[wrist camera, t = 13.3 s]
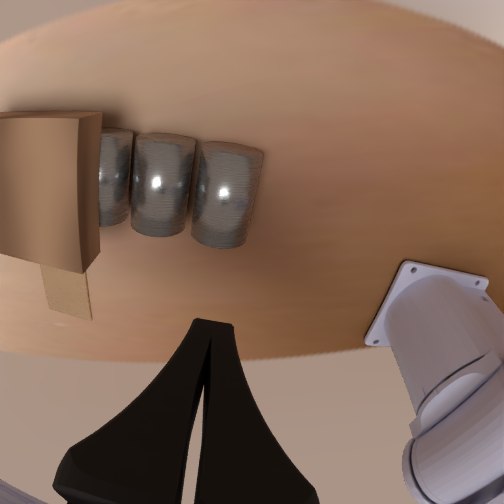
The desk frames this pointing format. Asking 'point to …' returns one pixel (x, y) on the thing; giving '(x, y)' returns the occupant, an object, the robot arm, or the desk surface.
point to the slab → (50, 187)
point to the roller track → (165, 198)
